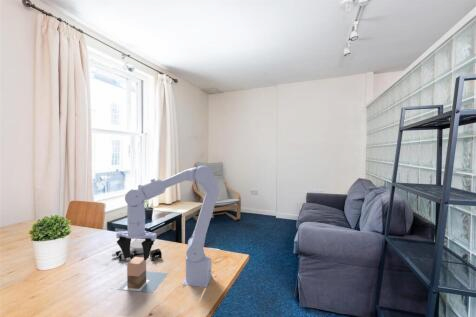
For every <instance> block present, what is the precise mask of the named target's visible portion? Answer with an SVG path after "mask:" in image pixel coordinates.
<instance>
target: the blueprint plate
mask: <svg viewBox="0 0 476 317" xmlns="http://www.w3.org/2000/svg"><path fill="white" fill-rule="evenodd" d="M168 274H169V273H167V272H157V271H147V270H146V282H145V283H144V284H143V285H142V286H141V287H140V289H135V288H127V281H125V282H124V283H123V284H122V285H121V286H120V287H119V288H118V289H117V291H128V292H135V293H144V294H145V293H148V294H153V293H154V292H155V291H156V290H157V288H158V287H159V285H161V284H162V282H163V280H164V279H166V277H167V276H168Z"/></svg>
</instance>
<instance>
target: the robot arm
mask: <svg viewBox="0 0 476 317" xmlns="http://www.w3.org/2000/svg"><path fill="white" fill-rule="evenodd" d="M185 181H189V182H194V181H196V182H197V183H198V184H200V185H201V187H202V188H203V190H204V191H205V194H204V198H203V201H202V203H201V207H200V212H199V213H198V217H197V221H196V223H195V227H194V230H193V232H192V235H191V237H189V239H188V241H187V250H186V254H185V278H184V279H183V281H182V283H181V285H184V286H194V287H202V288H203V287H204V288H207V287H208V285H209V283H210V281H211V278H212V276H213V275H212V258H211V257H209V256H206V254H205V249H204V246H205V244H206V243H205V242H206V241H205V240H206V235H207V232H208V228H209V225H210V222H211V219H212V215H213V212H214V208H215V205H216V202H217V200H218V195H219V192H220V188H219V186H218V182H217V179H216V176H215V174H214V172H213V171H212V169H211V168H210V167H209V166H208V165H205V164H201V165H198V166H195V167H191V168H187V169H185V170H183V171H181V172H179V173H176V174H174V175H172V176H169V177H167V178H165V179H160V178H157V179H155V178H152V179H150V181H149V182H146V183H143V184H139V185H137V187H134V188H132V189H130V190H128V192H126V194H125V196H124V201H125V203H126V204H127V208H126V209H127V213H126V214H127V230H120V231H117V232H116V234H115V236H116V237H115V238H116V239H118V240H116V244H117V245H118V247H120V251H122V252H123V255H124V258H125V260H126V258H128V257H129V256H130V243H132V239H134V240H136V239H137V240H145V241H143V242H142V243H141V244H142V247H143V252H144V253H143V257H144V260H146V261H147V260H148V259H150V253H151V251H152V247H153V246H154V245H153V243H154V244H155V241H156V239H157V237H158V236H157V233H156V232H150V231H147V230H146V208H145V201H148V200H151V199H153V198H155V197H157V196H160V195H162V194H165V192H166V189H167V188H170V187H173V186H175V185H178V184H180V183H182V182H185Z"/></svg>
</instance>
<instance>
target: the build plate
mask: <svg viewBox="0 0 476 317" xmlns="http://www.w3.org/2000/svg"><path fill="white" fill-rule="evenodd" d="M162 254H163V253H162V251H161V249H160V248H155V249H151V250H150V254H149V259H150V260H151V261H152V262H153V261H156V260H161V259H162Z"/></svg>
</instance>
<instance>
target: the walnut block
mask: <svg viewBox="0 0 476 317" xmlns="http://www.w3.org/2000/svg"><path fill="white" fill-rule="evenodd" d="M146 271H147V269H146V270H145V271H144V272H143V273H142V274H141V275H140V276H128V275H127V274H126V277H127V278H126V280H127V281H126V282H127V288H135V289H140V287H141V286H142V285H143V284H144V283H145V282H146Z"/></svg>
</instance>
